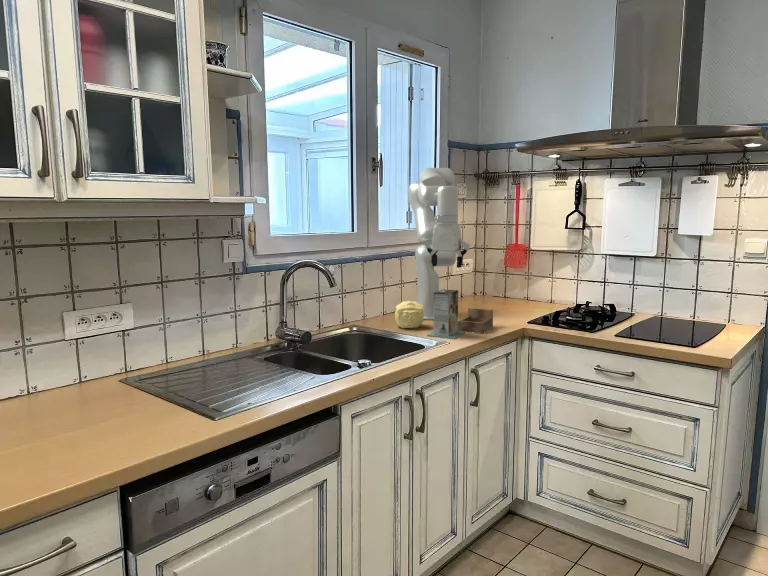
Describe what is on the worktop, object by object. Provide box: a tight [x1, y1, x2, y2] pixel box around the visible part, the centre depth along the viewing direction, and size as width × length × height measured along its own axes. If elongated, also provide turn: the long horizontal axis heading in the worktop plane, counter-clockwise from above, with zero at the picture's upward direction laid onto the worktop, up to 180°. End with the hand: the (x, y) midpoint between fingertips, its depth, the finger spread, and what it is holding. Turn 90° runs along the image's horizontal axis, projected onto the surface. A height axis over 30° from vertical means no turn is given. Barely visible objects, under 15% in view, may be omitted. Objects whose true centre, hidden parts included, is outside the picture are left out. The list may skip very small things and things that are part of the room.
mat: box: [426, 330, 466, 340], centre depth 211 cm, size 11×11×1 cm
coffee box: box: [433, 288, 459, 336], centre depth 210 cm, size 9×6×16 cm
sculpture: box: [394, 300, 424, 329], centre depth 224 cm, size 11×12×11 cm
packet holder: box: [458, 307, 494, 334], centre depth 220 cm, size 10×13×7 cm
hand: (446, 266), depth 208 cm, fingers open, 9 cm apart
